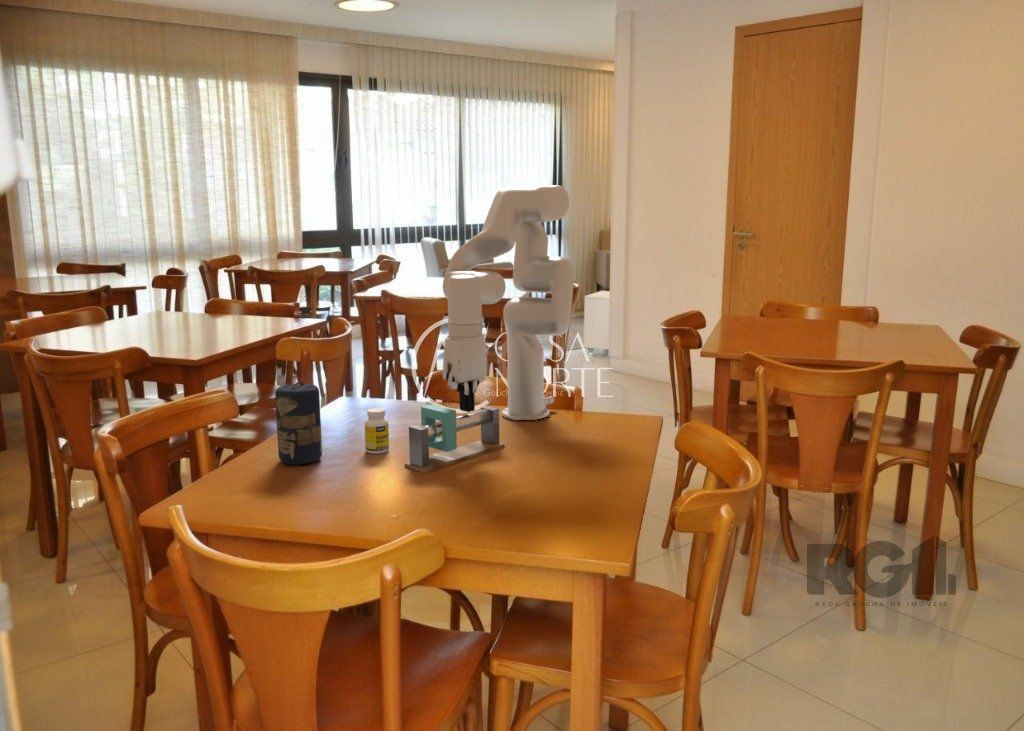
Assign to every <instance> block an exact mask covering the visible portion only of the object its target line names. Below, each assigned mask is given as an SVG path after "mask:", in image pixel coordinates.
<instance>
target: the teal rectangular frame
mask: <svg viewBox="0 0 1024 731" xmlns="http://www.w3.org/2000/svg"><path fill="white" fill-rule="evenodd" d="M420 414H421V418H420V420H421V424H420V426H425V425H429V424H433V423H436V420H437V421H439V422H440V421H442V436H441V437H442V438H440V437H437V438H433V439H430V440H429V448H431V449H435V450H438V451H441V452H443V451H445V452H448V451H452V450H455V449H457V447H458V446H457V443H458V442H457V432H456V417H457V410H456V409H451V408H448V407H443V406H440V405H435V404H427V405H423V406H421V407H420Z"/></svg>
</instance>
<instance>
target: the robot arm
mask: <svg viewBox="0 0 1024 731" xmlns="http://www.w3.org/2000/svg"><path fill="white" fill-rule="evenodd" d="M569 207H570V196H569V193H568V191H567V190H566V188H565V187H563V186H561V185H560V184H558V185H557V184H546V185H545V184H544V185H543V184H542V185H541V184H540V185H537V184H535V185H534V184H529V185H528V184H527V185H524V184H523V185H516V186H515V185H513V186H505V187H503V188H501V189H499V190H498V191H497V192H496V194H495V195H494V197H493V200H492V203H491V205H490V208H489V210H488V213H487V216H486V218H485V220H484V222H483V224H482V225H483V226H482V228H481V231H480V232H479V233H477V234H476V235H474V236H473V237H471V238H470V239H469V240H468V241H466V242H465V243H464V244H463V245H462V246H461V247H459V248H458V249H457V250H456V251H455V252H454V254H453V255H452V257H451V258H450V261H449V264H448V265H447V268H446V270H445V273H444V277H443V280H442V291H443V295H444V296H445V298H446V299H447V320H448V322H447V323H448V325H447V327H448V337H446V338H445V341H444V348H443V359H442V377H443V378H442V379H443V380H444V381H447V388H448V389H451V390H455V391H456V393H457V394H459V410H460V411H463V412H467V413H472V412H473V411H474V412H475V406H476V405H475V394H476V393H477V389H478V387H479V385H480V384H481V383H483V382H485V381H486V376H487V374H488V355H487V347H486V345H487V344H486V341H485V337H484V336H485V335H483V328H484V327H485V324H484V323H483V305H493V304H497V303H498V302H500V301H501V300H502V299H503V297H504V295H505V293H506V288H507V287H506V281H505V279H504V277H503V276H502V275H501V274H500V273H498V272H496V271H493V270H476V269H475V270H473V268H475V267H476V266H478V265H479V264H482V263H483V262H486V261H488V260H493V259H494V258H497V257H500V256H502V255H504V254H505V255H506V254H507V253H509V252H511V251H512V249H513V248H514V259H513V267H512V268H513V269H512V270H513V271H512V283H513V286H514V288H515V289H516V290H518V291H520V292H523V293H524V292H525V293H538V294H551V298H549V297H548V298H547V297H533V296H532V297H531V296H518V297H513V298H511V299H509V300H508V301H507V302H506V304H505V305H504V307H503V311H502V312H503V313H502V314H503V323H504V327H505V328H504V329H505V333H506V334H505V335H506V343H507V345H506V346H507V347H506V348H507V407H505V408H504V409H503V410H501V411H502V412H501V414H502V415H503V416H504V417H503V416H502V417H503V418H505V417H506V418H505V419H507V418H509V419H508V420H510V419H514V420H513V421H516V420H535V421H538V420H537V419H541V418H543V417H546V416H547V415H548V414H549V415H550V410H549V409H548V408H547V407H546V406H547V405H550V404H553V403H554V402H555V397H554V396H553V395H551V396H550V395H549V396H547V397H546V396H544V390H545V388H544V385H545V384H544V382H545V380H544V376H545V375H544V369H545V368H544V366H545V364H544V359H545V354H544V348H543V346H542V345H543V344H542V343H541V342H540V340H539V338H538V337H537V335H538V336H539V335H540V336H555V337H557V336H563V335H565V334H566V333H567V331H568V330H569V328H570V324H571V318H572V308H573V307H572V305H573V294H574V282H575V280H574V278H575V275H574V273H575V272H574V268H573V267H574V266H573V264H572V262H571V261H570V259H568V258H567V257H564V256H560V255H559V256H557V255H555V256H554V255H553V256H552V255H548V249H549V248H548V247H549V237H548V236H549V235H548V233H547V232H546V230H545V228H544V226H543V225H542V224H541V223H546V222H547V223H548V222H553V221H554V222H555V221H558V220H561V219H563V218H564V217H565V216H566V215H567V213H568V212H569ZM514 246H515V247H514ZM541 420H542V419H541Z"/></svg>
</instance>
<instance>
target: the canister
mask: <svg viewBox="0 0 1024 731" xmlns="http://www.w3.org/2000/svg"><path fill="white" fill-rule="evenodd" d="M274 393H275V395H274V396H275V398H274V399H275V416H276V418H275V420H276V434H277V435H276V437H277V447H278V448H277V450H278V451H277V452H278V458H279V460H280V462H282V463H285V464H287V465H306V464H311V463H314V462H317V461H318V460H320V459H321V458H322V456H323V440H322V439H323V436H322V423H321V422H322V421H321V406H320V405H321V402H320V401H321V400H320V389H319V387H318V386H317V385H316V384H311V383H304V382H301V381H297V382H295V383H288V384H285V385H284V384H283V385H281V386H278V387H277V388H276V389H275V392H274Z"/></svg>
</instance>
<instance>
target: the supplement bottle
mask: <svg viewBox="0 0 1024 731" xmlns="http://www.w3.org/2000/svg"><path fill="white" fill-rule="evenodd" d="M366 411H367V413H366V414H367V418H366V419H365V420H364V445H365V446H364V447H365V451H366V453H368V454H374V455H379V454H385V453H387V452H388V451H389V449H390V440H389V439H390V437H389V420H388V419H387V418H386V417H385V416H386V409H385V408H382V407H373V408H369V409H367V410H366Z"/></svg>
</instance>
